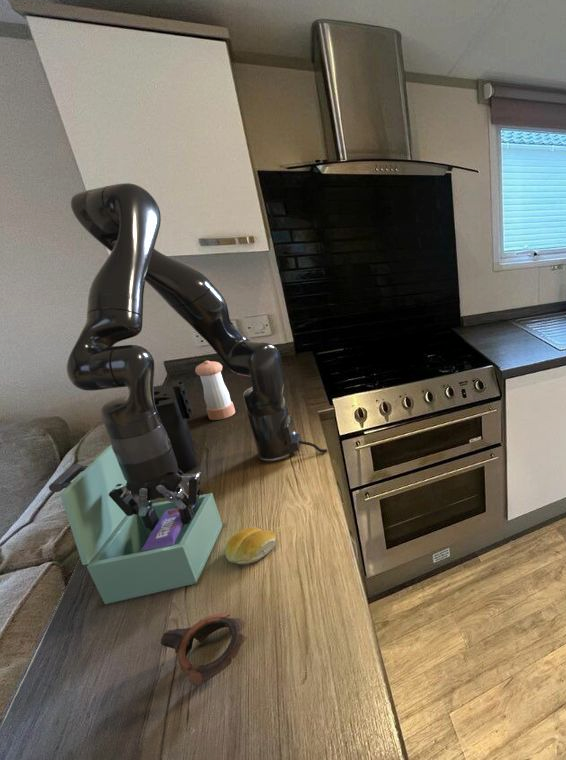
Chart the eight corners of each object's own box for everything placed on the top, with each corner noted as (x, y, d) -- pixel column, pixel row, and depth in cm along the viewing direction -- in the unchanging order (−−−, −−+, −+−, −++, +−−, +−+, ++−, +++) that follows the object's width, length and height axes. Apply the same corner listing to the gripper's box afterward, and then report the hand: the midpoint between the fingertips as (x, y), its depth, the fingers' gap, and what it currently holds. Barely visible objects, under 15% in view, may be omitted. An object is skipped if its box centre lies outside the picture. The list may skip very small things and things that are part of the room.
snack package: (171, 540, 80) (138, 547, 78) (174, 548, 81) (141, 555, 79) (194, 500, 90) (164, 506, 88) (196, 508, 91) (167, 513, 89)
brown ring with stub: (260, 620, 77) (253, 609, 71) (236, 688, 70) (226, 681, 64) (181, 617, 74) (167, 605, 68) (149, 687, 67) (130, 680, 61)
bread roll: (251, 531, 96) (247, 517, 94) (284, 540, 93) (280, 526, 92) (215, 560, 88) (210, 544, 87) (249, 571, 86) (245, 555, 84)
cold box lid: (118, 442, 85) (84, 444, 83) (66, 493, 71) (24, 497, 69) (133, 504, 90) (102, 508, 88) (88, 564, 76) (49, 569, 74)
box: (222, 525, 97) (212, 492, 94) (196, 583, 83) (183, 546, 80) (146, 541, 93) (132, 507, 90) (104, 604, 79) (86, 566, 76)
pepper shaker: (222, 421, 140) (206, 366, 133) (203, 419, 141) (186, 364, 134) (240, 410, 147) (226, 357, 140) (221, 408, 148) (206, 356, 141)
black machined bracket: (150, 485, 110) (121, 407, 102) (151, 449, 125) (125, 379, 117) (207, 467, 117) (184, 393, 109) (201, 435, 132) (180, 368, 124)
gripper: (82, 469, 74) (116, 547, 80) (182, 454, 78) (208, 529, 85) (106, 446, 81) (136, 519, 87) (198, 433, 85) (220, 504, 91)
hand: (171, 523), depth 86 cm, fingers closed on snack package, 4 cm apart
